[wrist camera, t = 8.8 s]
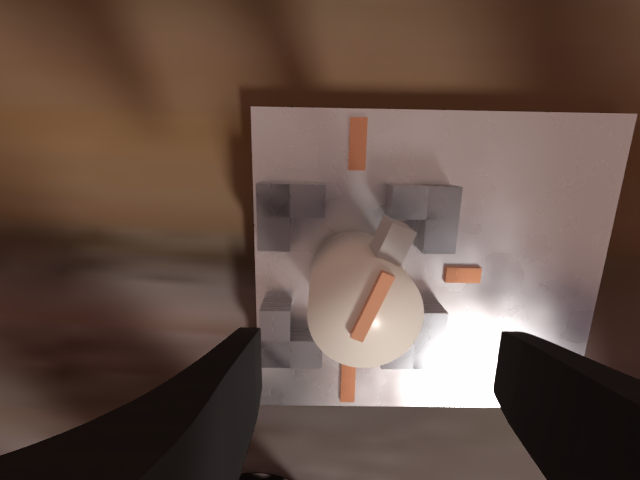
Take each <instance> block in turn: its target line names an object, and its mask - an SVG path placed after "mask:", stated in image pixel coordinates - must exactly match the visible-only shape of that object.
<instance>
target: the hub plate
mask: <svg viewBox="0 0 640 480" xmlns="http://www.w3.org/2000/svg"><path fill="white" fill-rule="evenodd" d="M636 119H637V114H623V113H570V112H518V111H465V110H413V109H360V108H308V107H256V106H251V137H252V172H253V208H254V243H255V279H256V314H257V328H261V358H262V393H261V399H260V405H316V406H413V407H500V406H499V403H498V401H497V399H496V397H495V395H494V393H493V385H494V378H495V372H496V365H497V359H498V352H499V346H500V339H501V333H502V331H519V332H525V333H529V334H532V335H535V336H537V337H540V338H542V339H545V340H547V341H550V342H552V343H554V344H557V345H559V346H561V347H564V348H566V349H568V350H571V351H573V352H575V353H577V354H580V355H582V356H584V355H585V350H586V346H587V341H588V337H589V332H590V328H591V323H592V318H593V314H594V309H595V305H596V300H597V296H598V291H599V287H600V282H601V278H602V273H603V268H604V264H605V259H606V255H607V250H608V246H609V241H610V237H611V232H612V228H613V223H614V218H615V214H616V209H617V205H618V200H619V196H620V191H621V187H622V182H623V178H624V173H625V169H626V164H627V159H628V155H629V150H630V146H631V141H632V137H633V132H634V128H635V123H636ZM383 215H386V216H389V217H391V218H393V219H396V220H398V221H400V222H403V223H405V224H407V225H408V226H409V227H410V228H412V229H413V230H414V231H416V232H417V235H416V237H415V239H414V241H413V243H412V245H411V247H410V249H409V251H408V253H407V255H406V257H405V259H404V261H403V263H402V265H401V266H402V267H403V269H404V270H405V271H406V273H407V274H408V275H409V277H410V278H411V279H412V281H413V282H414V283H415V285H416V286H417V288H418V290H419V292H420V294H421V297H422V301H423V306H424V319H423V324H422V328H421V331H420V333H419V335H418V337H417V339H416V340H415V342H414V343H413V345H412V346H411V347H410V348H409V349H408V350H407V351H406V352H405V353H404V354H403V355H401V356H400V357H399V358H397V359H395V360H393V361H391V362H389V363H387V364H384V365H381V366H377V367H371V368H357V367H351V366H347V365H343V364H341V363H339V362H336V361H334V360H333V359H331V358H329V357H328V356H327V355H326V354H324V353H323V352H322V351H321V350H320V349H319V347H318V346H317V345H316V343H315V342H314V340H313V338H312V336H311V333H310V331H309V327H308V320H307V311H308V296H309V281H310V267H311V262H312V259H313V257H314V255H315V253H316V251H317V250H318V248H319V247H320V246H321V245H322V244H323V243H324V242H325V241H326V240H328V239H329V238H331V237H332V236H334V235H337V234H339V233H342V232H348V231H360V232H365V233H368V234H371V235H373V236H374V234H375V232H376V230H377V228H378V226H379V224H380V221H381V219H382V217H383Z"/></svg>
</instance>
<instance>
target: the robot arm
mask: <svg viewBox="0 0 640 480" xmlns="http://www.w3.org/2000/svg"><path fill="white" fill-rule="evenodd" d="M261 393H262V358H261V328H242V327H240V328H239V329H237V330H236V331H235V332H233V333H232V334H231V335H230V336H228V337H227V338H226V339H225V340H223V341H222V342H221V343H220V344H218V345H217V346H216V347H215V348H213V349H212V350H211V351H209V352H208V353H207V354H206V355H204V356H203V357H202V358H200V359H199V360H197V361H196V362H195V363H193V364H192V365H190V366H189V367H187V368H186V369H184V370H183V371H182V372H180V373H179V374H177V375H176V376H174V377H173V378H171V379H170V380H168V381H167V382H165V383H163V384H162V385H160V386H158V387H157V388H155V389H153V390H151V391H150V392H148V393H146V394H144V395H143V396H141V397H139V398H137V399H135V400H133V401H132V402H130V403H128V404H125V405H123V406H121V407H119V408H117V409H115V410H113V411H111V412H109V413H107V414H105V415H102V416H100V417H98V418H96V419H94V420H92V421H90V422H88V423H85V424H83V425H81V426H78V427H76V428H73V429H71V430H69V431H66V432H64V433H61V434H59V435H56V436H53V437H51V438H48V439H46V440H43V441H40V442H38V443H35V444H33V445H30V446H27V447H24V448H21V449H19V450H16V451H13V452H10V453H7V454H4V455H1V456H0V480H239V478H240V474H241V471H242V468H243V464H244V461H245V458H246V455H247V451H248V448H249V445H250V441H251V438H252V434H253V431H254V428H255V424H256V421H257V416H258V410H259V405H260V399H261ZM493 393H494V395H495V397H496V399H497V401H498V403H499V406H500V408H501V410H502V411H503V413H504V415H505V417H506V419H507V421H508V423H509V424H510V426H511V428H512V429H513V431H514V432H515V434H516V435H517V437H518V438H519V440H520V441H521V443H522V444H523V445H524V447H525V448H526V450H527V451H528V453H529V454H530V456H531V457H532V459H533V460H534V462H535V463H536V464H537V466H538V467H539V469H540V470H541V472H542V473H543V475H544V476H545V478H546V479H547V480H640V380H639V379H636V378H634V377H631V376H629V375H626V374H624V373H621V372H619V371H617V370H614V369H612V368H609V367H607V366H605V365H603V364H600V363H598V362H596V361H593V360H591V359H589V358H586V357H584V356H582V355H580V354H577V353H575V352H573V351H571V350H568V349H566V348H564V347H561V346H559V345H557V344H554V343H552V342H550V341H547V340H545V339H542V338H540V337H537V336H535V335H532V334H529V333H525V332H519V331H502V333H501V339H500V346H499V352H498V359H497V365H496V372H495V378H494V385H493Z"/></svg>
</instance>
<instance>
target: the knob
mask: <svg viewBox="0 0 640 480" xmlns="http://www.w3.org/2000/svg"><path fill="white" fill-rule="evenodd" d="M416 235H417V232H416V231H414V230H413V229H412V228H410V227H409V226H408V225H407V224H405V223H403V222H400V221H398V220H396V219H393V218H391V217H389V216H386V215H383V217H382V219H381V221H380V224H379V226H378V228H377V230H376V232H375V234H374V236H373V235H371V234H368V233H365V232H360V231H348V232H342V233H339V234H337V235H334V236H332V237H331V238H329V239H328V240H326V241H325V242H324V243H323V244H322V245H321V246H320V247H319V248H318V250H317V251H316V253H315V255H314V257H313V259H312V262H311V267H310V281H309V296H308V311H307V320H308V327H309V331H310V333H311V336H312V338H313V340H314V342H315V343H316V345H317V346H318V347H319V349H320V350H321V351H322V352H323V353H324V354H326V355H327V356H328V357H329V358H331V359H333V360H334V361H336V362H339V363H341V364H343V365H347V366H351V367H357V368H371V367H377V366H381V365H384V364H387V363H389V362H391V361H393V360H395V359H397V358H399V357H400V356H401V355H403V354H404V353H405V352H406V351H407V350H408V349H409V348H410V347H411V346H412V345H413V343H414V342H415V340H416V339H417V337H418V335H419V333H420V331H421V328H422V324H423V319H424V306H423V301H422V297H421V294H420V292H419V290H418V288H417V286H416V285H415V283H414V282H413V281H412V279H411V278H410V277H409V275H408V274H407V273H406V271H405V270H404V269H403V267H402V266H401V265H402V263H403V261H404V259H405V257H406V255H407V253H408V251H409V249H410V247H411V245H412V243H413V241H414V239H415V237H416Z"/></svg>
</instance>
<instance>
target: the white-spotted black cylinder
mask: <svg viewBox="0 0 640 480" xmlns="http://www.w3.org/2000/svg"><path fill="white" fill-rule="evenodd" d="M239 480H286V479H284V478H281V477H277V476H274V475H269V474H261V473H250V474H242V475H240V478H239Z"/></svg>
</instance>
